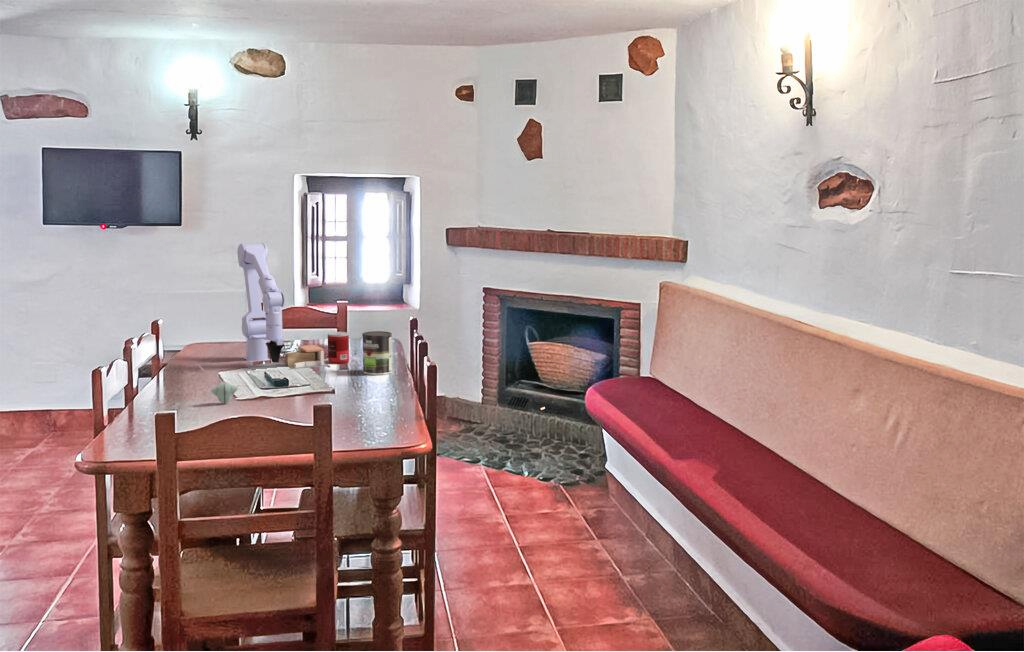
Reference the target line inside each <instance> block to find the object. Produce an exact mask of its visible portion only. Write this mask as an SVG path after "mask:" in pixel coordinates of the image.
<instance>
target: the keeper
mask: <svg viewBox="0 0 1024 652" xmlns="http://www.w3.org/2000/svg"><path fill="white" fill-rule="evenodd" d="M298 349H299V350H298V352H300V351H305V352H315V361H305V362H299V363H294V366H291V367H289V368H290V369H289V370H296V369H297V370H298V369H306V368H307V369H308V368H320V367H327V368H330V367H331V365H330V364H328V363H326V362H325V348H323V347H321V346H319V345H317V344H310V345H309V344H307V345H298ZM245 366H246V368H249V369H250V370H251V371H253V370H256V369H267V368H277V367H288V366H286V365H285V361H282V362H274V363H273V362H271V363H259V364H248V365H245Z"/></svg>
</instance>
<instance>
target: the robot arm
mask: <svg viewBox="0 0 1024 652" xmlns="http://www.w3.org/2000/svg"><path fill="white" fill-rule="evenodd" d="M236 253H237V262H238V265H239V267H241V268H242V269H243V273H244V283H245V284H244V285H245V292H246V299H247V307H248V308H247V309H248V312H247V313H246V314H244V315H243V317H242V318H241V332H242V335H243V336H244V338H246V342H245V349H246V357H243V359H244V360H245V359H246V360H245V361H247V362H249V363H250V362H251V363H252V362H262V361H265V362H266V361H271V363H280V357H281V353H282V349H283V347H284V345H285V343H284V335H283V334H284V333H283V307H284V306H285V295H284V292H283V291H282V290H281V289H280V288H279V287H278V286H277V283H276V280H275V277H274V276H273V275H271V274H270V271H269V267H268V264H267V258H268V256H269V250H268V246H267V245H266V243H265V242H262V243H239V245H238V247H237V252H236ZM260 291H261V292H260ZM261 294H262V300H261ZM262 305H263V310H262ZM268 341H269V342H268ZM268 351H269V354H268ZM268 355H270V358H269V356H268Z"/></svg>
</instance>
